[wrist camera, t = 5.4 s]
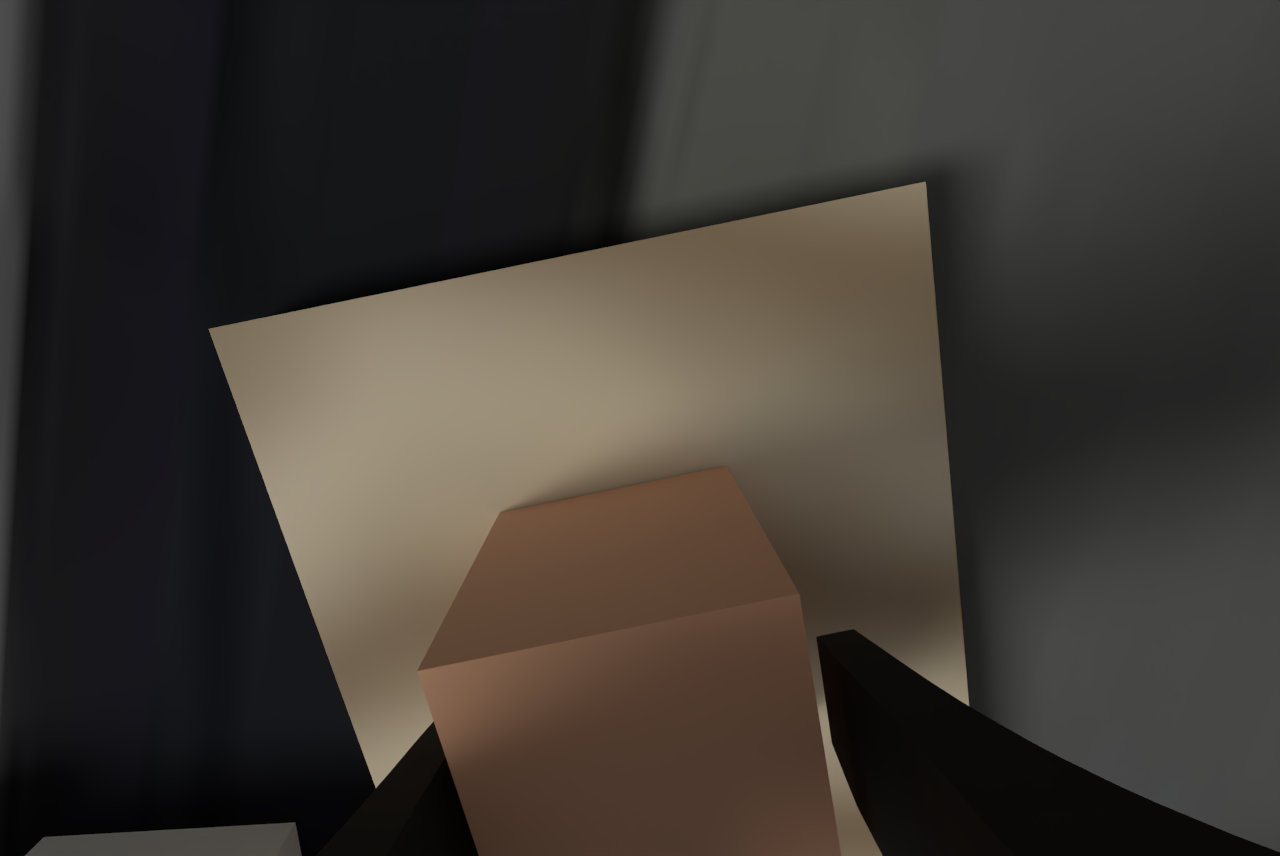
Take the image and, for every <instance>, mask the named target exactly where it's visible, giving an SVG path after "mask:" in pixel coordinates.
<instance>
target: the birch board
mask: <svg viewBox="0 0 1280 856" xmlns="http://www.w3.org/2000/svg"><path fill="white" fill-rule="evenodd" d="M209 331H210V334H211V337H212V340H213V342H214V345H215V348H216V351H217V353H218V356H219V359H220V362H221V364H222V367H223V370H224V373H225V375H226V378H227V381H228V384H229V386H230V389H231V392H232V395H233V397H234V400H235V403H236V406H237V408H238V411H239V414H240V417H241V419H242V422H243V425H244V428H245V430H246V433H247V436H248V438H249V441H250V444H251V447H252V449H253V452H254V455H255V458H256V460H257V463H258V466H259V469H260V471H261V474H262V477H263V480H264V482H265V485H266V488H267V491H268V493H269V496H270V499H271V502H272V504H273V507H274V510H275V513H276V515H277V518H278V521H279V524H280V526H281V529H282V532H283V535H284V537H285V540H286V543H287V546H288V548H289V551H290V554H291V557H292V559H293V562H294V565H295V568H296V570H297V573H298V576H299V579H300V581H301V584H302V587H303V590H304V592H305V595H306V598H307V601H308V603H309V606H310V609H311V612H312V614H313V617H314V620H315V622H316V625H317V628H318V631H319V633H320V636H321V639H322V642H323V644H324V647H325V650H326V653H327V655H328V658H329V661H330V664H331V666H332V669H333V672H334V675H335V677H336V680H337V683H338V686H339V688H340V691H341V694H342V697H343V699H344V702H345V705H346V708H347V710H348V713H349V716H350V719H351V721H352V724H353V727H354V730H355V732H356V735H357V738H358V741H359V743H360V746H361V749H362V752H363V754H364V757H365V760H366V763H367V765H368V768H369V771H370V774H371V776H372V779H373V782H374V785H375V787H376V788H377V787H378V785H379V784H380V783H381V782H382V781H383V780H384V778H385V777H386V776H387V775H388V774H389V773H390V771H391V770H392V769H393V768H394V767H395V766H396V764H397V763H398V762H399V761H400V760H401V758H402V757H403V756H404V755H405V754H406V753H407V751H408V750H409V749H410V748H411V747H412V746H413V744H414V743H415V742H416V741H417V740H418V738H419V737H420V736H421V735H422V734H423V733H424V732H425V730H426V729H427V728H428V727H429V726H430V725H431V724H432V722H433V718H432V715H431V712H430V709H429V706H428V703H427V700H426V697H425V694H424V691H423V688H422V685H421V682H420V679H419V676H418V673H417V670H418V668H419V666H420V664H421V662H422V660H423V658H424V657H425V655H426V653H427V651H428V649H429V647H430V645H431V643H432V641H433V639H434V637H435V635H436V633H437V632H438V630H439V628H440V626H441V624H442V622H443V620H444V618H445V616H446V614H447V612H448V610H449V609H450V607H451V605H452V603H453V601H454V599H455V597H456V595H457V593H458V591H459V589H460V587H461V586H462V584H463V582H464V580H465V578H466V576H467V574H468V572H469V570H470V568H471V566H472V564H473V563H474V561H475V559H476V557H477V555H478V553H479V551H480V549H481V547H482V545H483V543H484V541H485V540H486V538H487V536H488V534H489V532H490V530H491V528H492V526H493V524H494V522H495V520H496V518H497V516H498V515H499V513H500V512H504V511H509V510H514V509H519V508H524V507H529V506H533V505H538V504H543V503H548V502H553V501H558V500H562V499H567V498H572V497H577V496H582V495H587V494H591V493H596V492H601V491H606V490H611V489H616V488H620V487H625V486H630V485H635V484H640V483H645V482H649V481H654V480H659V479H664V478H669V477H673V476H678V475H683V474H688V473H693V472H698V471H702V470H707V469H712V468H717V467H722V466H727V467H728V469H729V471H730V473H731V474H732V476H733V478H734V480H735V481H736V483H737V485H738V487H739V488H740V490H741V492H742V494H743V495H744V497H745V499H746V501H747V503H748V504H749V506H750V508H751V510H752V511H753V513H754V515H755V517H756V518H757V520H758V522H759V524H760V525H761V527H762V529H763V531H764V532H765V534H766V536H767V538H768V540H769V541H770V543H771V545H772V547H773V548H774V550H775V552H776V554H777V555H778V557H779V559H780V561H781V562H782V564H783V566H784V568H785V569H786V571H787V573H788V575H789V576H790V578H791V580H792V582H793V584H794V585H795V587H796V589H797V591H798V592H799V595H800V601H801V608H802V614H803V620H804V626H805V633H806V639H807V645H808V651H809V657H810V664H811V670H812V676H813V682H814V689H815V695H816V701H817V707H818V714H819V720H820V726H821V732H822V739H823V745H824V751H825V757H826V763H827V770H828V776H829V782H830V788H831V795H832V801H833V807H834V813H835V820H836V826H837V832H838V838H839V844H840V851H841V856H883V855H882V853H881V851H880V850H879V848H878V846H877V844H876V842H875V840H874V838H873V836H872V834H871V832H870V830H869V829H868V827H867V825H866V823H865V821H864V819H863V817H862V815H861V813H860V811H859V809H858V807H857V805H856V802H855V800H854V798H853V795H852V793H851V790H850V788H849V785H848V783H847V780H846V778H845V775H844V773H843V770H842V768H841V765H840V763H839V760H838V758H837V755H836V753H835V750H834V747H833V745H832V741H831V734H830V727H829V721H828V714H827V707H826V700H825V694H824V687H823V680H822V673H821V666H820V660H819V653H818V646H817V639H816V637H817V636H822V635H826V634H831V633H836V632H841V631H846V630H851V629H854V630H856V631H857V632H859V633H860V634H862V635H863V636H864V637H866V638H867V639H869V640H870V641H872V642H873V643H875V644H876V645H878V646H879V647H880V648H882V649H883V650H885V651H886V652H888V653H889V654H891V655H892V656H893V657H895V658H896V659H898V660H899V661H901V662H902V663H904V664H905V665H907V666H908V667H909V668H911V669H912V670H914V671H915V672H917V673H918V674H920V675H921V676H923V677H924V678H926V679H927V680H929V681H930V682H932V683H933V684H935V685H936V686H938V687H939V688H941V689H943V690H944V691H946V692H947V693H949V694H950V695H952V696H954V697H955V698H957V699H958V700H960V701H961V702H963V703H965V704H966V705H968V706H969V698H968V686H967V674H966V661H965V649H964V637H963V625H962V613H961V601H960V589H959V577H958V565H957V553H956V541H955V529H954V517H953V505H952V493H951V481H950V468H949V456H948V444H947V432H946V420H945V408H944V396H943V384H942V372H941V360H940V348H939V336H938V324H937V312H936V300H935V288H934V275H933V263H932V251H931V239H930V227H929V215H928V203H927V191H926V182H921V183H916V184H911V185H906V186H902V187H897V188H892V189H887V190H882V191H877V192H872V193H868V194H863V195H858V196H853V197H848V198H843V199H838V200H834V201H829V202H824V203H819V204H814V205H809V206H804V207H799V208H795V209H790V210H785V211H780V212H775V213H770V214H765V215H761V216H756V217H751V218H746V219H741V220H736V221H731V222H727V223H722V224H717V225H712V226H707V227H702V228H697V229H693V230H688V231H683V232H678V233H673V234H668V235H663V236H659V237H654V238H649V239H644V240H639V241H634V242H629V243H624V244H620V245H615V246H610V247H605V248H600V249H595V250H590V251H586V252H581V253H576V254H571V255H566V256H561V257H556V258H552V259H547V260H542V261H537V262H532V263H527V264H522V265H518V266H513V267H508V268H503V269H498V270H493V271H488V272H484V273H479V274H474V275H469V276H464V277H459V278H454V279H449V280H445V281H440V282H435V283H430V284H425V285H420V286H415V287H411V288H406V289H401V290H396V291H391V292H386V293H381V294H377V295H372V296H367V297H362V298H357V299H352V300H347V301H343V302H338V303H333V304H328V305H323V306H318V307H313V308H309V309H304V310H299V311H294V312H289V313H284V314H279V315H274V316H270V317H265V318H260V319H255V320H250V321H245V322H240V323H236V324H231V325H226V326H221V327H216V328H211V329H209Z"/></svg>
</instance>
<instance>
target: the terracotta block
mask: <svg viewBox="0 0 1280 856" xmlns="http://www.w3.org/2000/svg"><path fill="white" fill-rule="evenodd" d="M417 673H418V676H419V679H420V682H421V685H422V688H423V691H424V694H425V697H426V700H427V703H428V706H429V709H430V712H431V715H432V718H433V721H434V724H435V727H436V730H437V733H438V736H439V739H440V742H441V745H442V748H443V750H444V753H445V756H446V759H447V762H448V765H449V768H450V771H451V774H452V777H453V780H454V783H455V786H456V789H457V792H458V795H459V798H460V801H461V804H462V807H463V810H464V813H465V816H466V819H467V822H468V825H469V828H470V831H471V834H472V837H473V840H474V843H475V846H476V849H477V852H478V855H479V856H841V851H840V844H839V838H838V832H837V826H836V820H835V813H834V807H833V801H832V795H831V788H830V782H829V776H828V770H827V763H826V757H825V751H824V745H823V739H822V732H821V726H820V720H819V714H818V707H817V701H816V695H815V689H814V682H813V676H812V670H811V664H810V657H809V651H808V645H807V639H806V633H805V626H804V620H803V614H802V608H801V601H800V595H799V592H798V591H797V589H796V587H795V585H794V584H793V582H792V580H791V578H790V576H789V575H788V573H787V571H786V569H785V568H784V566H783V564H782V562H781V561H780V559H779V557H778V555H777V554H776V552H775V550H774V548H773V547H772V545H771V543H770V541H769V540H768V538H767V536H766V534H765V532H764V531H763V529H762V527H761V525H760V524H759V522H758V520H757V518H756V517H755V515H754V513H753V511H752V510H751V508H750V506H749V504H748V503H747V501H746V499H745V497H744V495H743V494H742V492H741V490H740V488H739V487H738V485H737V483H736V481H735V480H734V478H733V476H732V474H731V473H730V471H729V469H728V467H727V466H722V467H717V468H712V469H707V470H702V471H698V472H693V473H688V474H683V475H678V476H673V477H669V478H664V479H659V480H654V481H649V482H645V483H640V484H635V485H630V486H625V487H620V488H616V489H611V490H606V491H601V492H596V493H591V494H587V495H582V496H577V497H572V498H567V499H562V500H558V501H553V502H548V503H543V504H538V505H533V506H529V507H524V508H519V509H514V510H509V511H504V512H500V513H499V515H498V516H497V518H496V520H495V522H494V524H493V526H492V528H491V530H490V532H489V534H488V536H487V538H486V540H485V541H484V543H483V545H482V547H481V549H480V551H479V553H478V555H477V557H476V559H475V561H474V563H473V564H472V566H471V568H470V570H469V572H468V574H467V576H466V578H465V580H464V582H463V584H462V586H461V587H460V589H459V591H458V593H457V595H456V597H455V599H454V601H453V603H452V605H451V607H450V609H449V610H448V612H447V614H446V616H445V618H444V620H443V622H442V624H441V626H440V628H439V630H438V632H437V633H436V635H435V637H434V639H433V641H432V643H431V645H430V647H429V649H428V651H427V653H426V655H425V657H424V658H423V660H422V662H421V664H420V666H419V668H418V670H417Z"/></svg>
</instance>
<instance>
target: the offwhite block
mask: <svg viewBox="0 0 1280 856" xmlns="http://www.w3.org/2000/svg"><path fill="white" fill-rule="evenodd" d="M25 856H302V855H301V849H300V844H299V839H298V833H297V828H296V823H295V822H294V823H277V824H260V825H242V826H225V827H208V828H191V829H174V830H157V831H139V832H122V833H105V834H88V835H71V836H54V837H43V838H42V839H41V840H40V841H39V842H38V843H37V844H36V845H35V846H34V847H33V848H32V849H31V850H30V851H29V852H28V853H27V854H26V855H25Z"/></svg>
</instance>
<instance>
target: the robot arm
mask: <svg viewBox="0 0 1280 856" xmlns="http://www.w3.org/2000/svg"><path fill="white" fill-rule="evenodd" d="M816 639H817V646H818V653H819V660H820V666H821V673H822V680H823V687H824V694H825V700H826V707H827V714H828V721H829V727H830V734H831V741H832V745H833V747H834V750H835V753H836V755H837V758H838V760H839V763H840V765H841V768H842V770H843V773H844V775H845V778H846V780H847V783H848V785H849V788H850V790H851V793H852V795H853V798H854V800H855V802H856V805H857V807H858V809H859V811H860V813H861V815H862V817H863V819H864V821H865V823H866V825H867V827H868V829H869V830H870V832H871V834H872V836H873V838H874V840H875V842H876V844H877V846H878V848H879V850H880V851H881V853H882V855H883V856H1280V852H1277V851H1274V850H1272V849H1269V848H1266V847H1264V846H1261V845H1258V844H1256V843H1253V842H1251V841H1248V840H1245V839H1243V838H1240V837H1237V836H1235V835H1232V834H1230V833H1227V832H1225V831H1223V830H1220V829H1218V828H1215V827H1213V826H1211V825H1208V824H1206V823H1203V822H1201V821H1199V820H1196V819H1194V818H1191V817H1189V816H1186V815H1184V814H1182V813H1179V812H1177V811H1174V810H1172V809H1170V808H1167V807H1165V806H1162V805H1160V804H1158V803H1155V802H1153V801H1151V800H1149V799H1147V798H1144V797H1142V796H1140V795H1138V794H1135V793H1133V792H1131V791H1129V790H1126V789H1124V788H1122V787H1120V786H1118V785H1116V784H1114V783H1112V782H1110V781H1107V780H1105V779H1103V778H1101V777H1099V776H1097V775H1095V774H1093V773H1091V772H1089V771H1087V770H1085V769H1083V768H1081V767H1079V766H1077V765H1075V764H1073V763H1071V762H1068V761H1066V760H1064V759H1062V758H1060V757H1058V756H1057V755H1055V754H1053V753H1051V752H1049V751H1047V750H1045V749H1043V748H1041V747H1039V746H1037V745H1036V744H1034V743H1032V742H1030V741H1028V740H1027V739H1025V738H1023V737H1021V736H1020V735H1018V734H1016V733H1014V732H1012V731H1011V730H1009V729H1007V728H1005V727H1004V726H1002V725H1000V724H998V723H997V722H995V721H993V720H991V719H990V718H988V717H986V716H984V715H983V714H981V713H980V712H978V711H976V710H975V709H973V708H971V707H970V706H968V705H966V704H965V703H963V702H961V701H960V700H958V699H957V698H955V697H954V696H952V695H950V694H949V693H947V692H946V691H944V690H943V689H941V688H939V687H938V686H936V685H935V684H933V683H932V682H930V681H929V680H927V679H926V678H924V677H923V676H921V675H920V674H918V673H917V672H915V671H914V670H912V669H911V668H909V667H908V666H907V665H905V664H904V663H902V662H901V661H899V660H898V659H896V658H895V657H893V656H892V655H891V654H889V653H888V652H886V651H885V650H883V649H882V648H880V647H879V646H878V645H876V644H875V643H873V642H872V641H870V640H869V639H867V638H866V637H864V636H863V635H862V634H860V633H859V632H857V631H856V630H854V629H851V630H846V631H841V632H836V633H831V634H826V635H822V636H817V637H816ZM316 856H479V855H478V852H477V849H476V846H475V843H474V840H473V837H472V834H471V831H470V828H469V825H468V822H467V819H466V816H465V813H464V810H463V807H462V804H461V801H460V798H459V795H458V792H457V789H456V786H455V783H454V780H453V777H452V774H451V771H450V768H449V765H448V762H447V759H446V756H445V753H444V750H443V748H442V745H441V742H440V739H439V736H438V733H437V730H436V727H435V724H434V721H433V722H432V724H431V725H430V726H429V727H428V728H427V729H426V730H425V732H424V733H423V734H422V735H421V736H420V737H419V738H418V740H417V741H416V742H415V743H414V744H413V746H412V747H411V748H410V749H409V750H408V751H407V753H406V754H405V755H404V756H403V757H402V758H401V760H400V761H399V762H398V763H397V764H396V766H395V767H394V768H393V769H392V770H391V771H390V773H389V774H388V775H387V776H386V777H385V778H384V780H383V781H382V782H381V783H380V784H379V785H378V787H377V788H376V789H375V790H374V791H373V792H372V794H371V795H370V796H369V797H368V798H367V799H366V800H365V802H364V803H363V804H362V805H361V806H360V807H359V809H358V810H357V811H356V812H355V813H354V814H353V815H352V817H351V818H350V819H349V820H348V821H347V822H346V823H345V824H344V826H343V827H342V828H341V829H340V830H339V831H338V832H337V833H336V834H335V835H334V836H333V837H332V838H331V840H330V841H329V842H328V843H327V844H326V845H325V846H324V847H323V848H322V849H321V850H320V851H319V852H318V854H317V855H316Z"/></svg>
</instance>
